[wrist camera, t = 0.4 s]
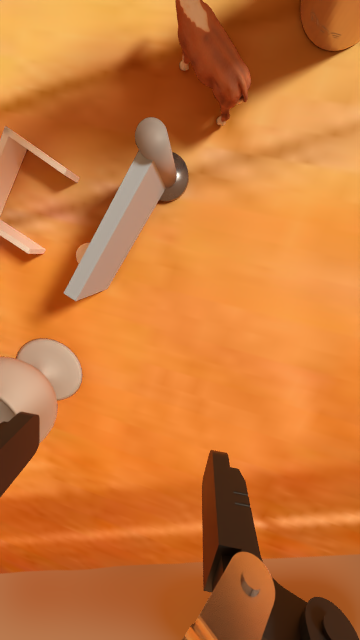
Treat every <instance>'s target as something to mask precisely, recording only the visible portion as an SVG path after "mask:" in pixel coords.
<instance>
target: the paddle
mask: <svg viewBox="0 0 360 640" xmlns="http://www.w3.org/2000/svg"><path fill="white" fill-rule="evenodd" d="M135 141H136V145H137V147H138V149H139V151H138V153H137V155H136V157H135V159H134V161H133V163H132V164H131V166H130V168H129V170H128V172H127V174H126V176H125V178H124V180H123V182H122V183H121V185H120V187H119V189H118V191H117V193H116V195H115V197H114V199H113V200H112V202H111V204H110V206H109V208H108V210H107V212H106V214H105V216H104V218H103V219H102V221H101V223H100V225H99V227H98V229H97V231H96V233H95V235H94V237H93V238H92V240H91V242H90V244H89V246H88V248H87V250H86V252H85V254H84V256H83V257H82V259H81V261H80V263H79V265H78V267H77V269H76V271H75V273H74V274H73V276H72V278H71V280H70V282H69V284H68V286H67V288H66V290H65V292H64V294H65V295H67V296H69V297H70V298H72V299H73V300H75V301H78V300H80V299H83V298H85V297H88V296H90V295H93V294H96V293H98V292H101V291H103V290H106V289H108V287H109V285H110V283H111V282H112V280H113V278H114V276H115V275H116V273H117V271H118V270H119V268H120V266H121V264H122V263H123V261H124V259H125V258H126V256H127V254H128V252H129V251H130V249H131V247H132V246H133V244H134V242H135V240H136V239H137V237H138V235H139V233H140V232H141V230H142V228H143V227H144V225H145V223H146V221H147V220H148V218H149V216H150V215H151V213H152V211H153V209H154V208H155V206H156V204H157V203H158V201H159V199H160V197H161V196H162V194H163V192H164V190H165V189H166V188H170V187H172V186H173V185H174V184H175V182H176V179H177V172H176V167H175V163H174V159H173V155H172V150H171V146H170V142H169V137H168V133H167V129H166V127H165V125H164V124H163V122H162V121H160V120H159V119H157V118H154V117H149V118H145V119H144V120H142V121H141V122H140V123H139V124H138V126H137V128H136V132H135Z"/></svg>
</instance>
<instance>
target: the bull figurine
mask: <svg viewBox="0 0 360 640" xmlns="http://www.w3.org/2000/svg"><path fill="white" fill-rule="evenodd" d="M176 11H177V20H178V38H179V42H180V45H181V47H182V49H183V60H182V61H181V62H180V63H179V67H180V69H181V70H184V71H186V70H188V69H189V66H188V64H189V62H191V64H192V66H193V69H194V71H195V73H196V75H197V77H198V79H199V80H200V81H201V82H202V83H203V84H204V85H206V86H208V87H210V88H212V89H213V94H214V96H215V98H216V99H217V100H218V101H219V103H220V108H221V112H222V114H221V116H219V117H218V118H217V120H216V122H217V124H218V125H221V124H222V126H223V125H224V124H225V123H226V120H228V119H229V118H230V115H229V109H230V108H232V107H234V106H235V105H236V104H238V105H239V104H241V103H242V102H243V101H244V102H246V101H247V97H248V94H247V90H248V89H249V87H250V85H251V77H250V72H249V69H248V67H247V66H246V65H245V63H244V62H243V61H242V59H241V57H240V55H239V53H238V51H237V50H236V48H235V46H234V45H233V43H232V41H231V40H230V38H229V37H228V35H227V34H226V32H225V30H224V29H223V27H222V26H221V25H220V23H219V21H218V19H217V18H216V16H215V14H214V12H213V11H212V9H211V8H210V7H209V6H208V5H207V4H206V3H204V2H203V1H202V0H176Z"/></svg>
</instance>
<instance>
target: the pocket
mask: <svg viewBox="0 0 360 640" xmlns="http://www.w3.org/2000/svg"><path fill="white" fill-rule="evenodd" d="M27 149H28V150H29V151H31V152H32V153H34V154H35V155H36V156H38V157H39V158H41V159H42V160H44V161H45V162H46V163H48V164H49V165H51V166H52V167H54V168H55V169H56V170H58V171H59V172H61V173H62V174H64V175H65V176H67V177H68V178H70V179H72V180H73V181H75V182H77V183H78V181H79V179H80V177H78V176H77V175H75V174H74V173H73V172H71V171H70V170H68V169H67V168H65V167H64V166H63V165H61V164H60V163H58V162H57V161H56V160H54V159H53V158H51V157H50V156H48V155H47V154H46V153H44V152H43V151H41V150H40V149H38V148H37V147H36V146H34V145H33V144H31V143H30V142H29V141H27V140H26V139H24V138H23V137H21V136H20V135H18V134H17V133H15V132H14V131H12V130H11V129H9V128H8V127H6V126H5V128H4V131H3V133H2V136H1V139H0V216H1V213H2V211H3V208H4V206H5V203H6V201H7V198H8V196H9V193H10V191H11V188H12V186H13V183H14V181H15V178H16V176H17V173H18V171H19V168H20V166H21V163H22V161H23V158H24V156H25V153H26V151H27ZM0 236H2V237H3V238H5V239H6V240H8V241H10V242H11V243H13V244H14V245H16V246H17V247H19V248H20V249H22V250H23V251H25V252H26V253H28V254H44V252H45V250H46V249H44V248H43V247H41V246H40V245H38V244H37V243H35V242H34V241H32V240H31V239H29V238H28V237H26V236H25V235H23V234H22V233H20V232H19V231H17V230H16V229H14V228H12V227H11V226H9V225H8V224H6V223H5V222H3V221H2V220H0Z"/></svg>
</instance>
